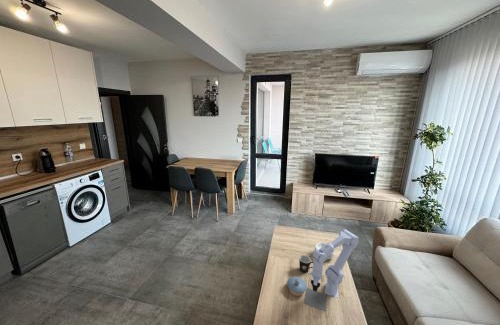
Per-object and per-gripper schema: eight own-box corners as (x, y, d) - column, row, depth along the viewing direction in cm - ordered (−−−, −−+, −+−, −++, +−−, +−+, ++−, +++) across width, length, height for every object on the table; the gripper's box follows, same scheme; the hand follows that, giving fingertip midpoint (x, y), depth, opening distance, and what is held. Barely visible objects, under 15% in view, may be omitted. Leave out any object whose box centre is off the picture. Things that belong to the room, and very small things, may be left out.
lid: (289, 275, 146) (290, 270, 145) (308, 281, 141) (308, 276, 140) (284, 288, 135) (285, 283, 134) (304, 296, 129) (305, 291, 128)
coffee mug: (296, 270, 156) (297, 259, 153) (301, 264, 162) (302, 253, 160) (310, 278, 148) (311, 267, 146) (315, 272, 154) (316, 260, 152)
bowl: (290, 282, 145) (290, 277, 144) (304, 286, 141) (305, 282, 140) (287, 293, 136) (287, 288, 135) (302, 298, 132) (303, 293, 131)
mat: (307, 288, 140) (307, 287, 140) (327, 295, 135) (327, 294, 135) (303, 303, 128) (303, 303, 128) (325, 312, 123) (325, 311, 123)
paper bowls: (330, 251, 179) (331, 243, 177) (335, 263, 164) (336, 254, 162) (312, 249, 180) (313, 241, 178) (316, 261, 165) (317, 253, 163)
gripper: (312, 258, 134) (310, 276, 138) (309, 274, 122) (307, 292, 125) (323, 262, 132) (321, 279, 135) (321, 278, 119) (319, 297, 122)
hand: (315, 286), depth 130 cm, fingers open, 7 cm apart
